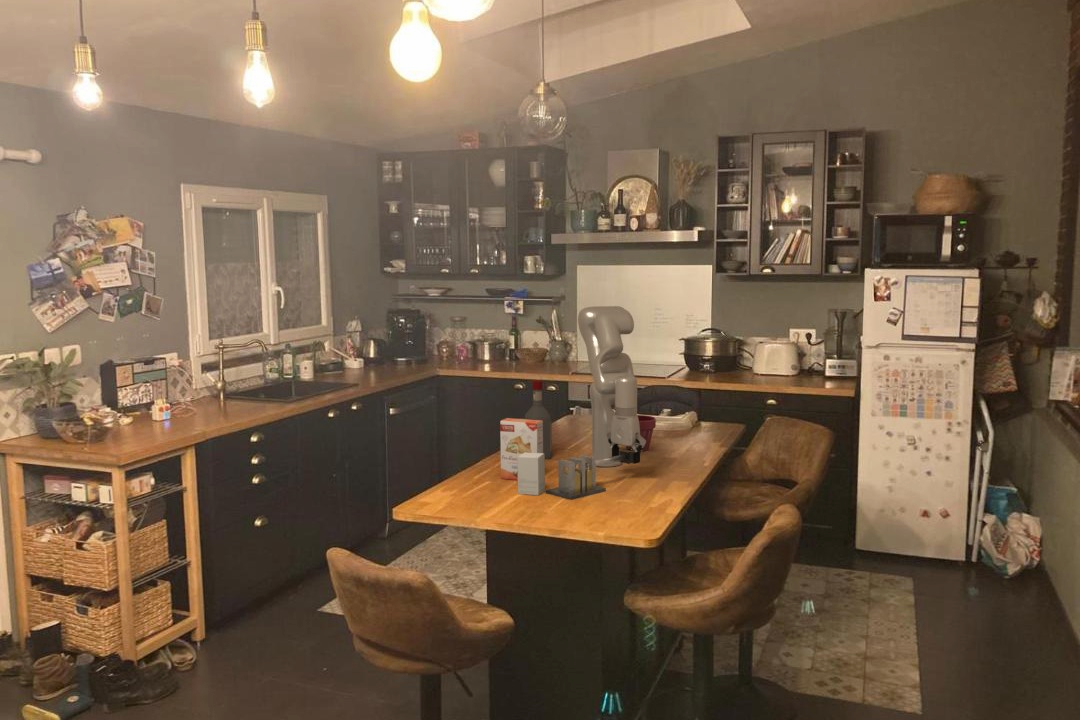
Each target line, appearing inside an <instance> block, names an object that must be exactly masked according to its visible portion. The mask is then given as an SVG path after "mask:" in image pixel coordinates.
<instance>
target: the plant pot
mask: <svg viewBox="0 0 1080 720" xmlns="http://www.w3.org/2000/svg"><path fill="white" fill-rule="evenodd" d="M637 416H638V419H639V426H640V436H642V437H643V438H644V439H645V440H646V443H645V445H644V448H643V449H642V450H645V451H648V450H650V445H651V443H652V437H653V432H654V429H656V426H657V425H656V424H657V423H656V421H657V420H656V417H654V416H652V415H644V414H637ZM639 445H640V443H639ZM625 448H626V449H627V448H628V449H632V450H633V448H632V446H625ZM636 448H637V447H636ZM628 449H627V450H628ZM647 449H648V450H647ZM632 450H631V451H632Z"/></svg>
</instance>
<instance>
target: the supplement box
mask: <svg viewBox="0 0 1080 720" xmlns="http://www.w3.org/2000/svg"><path fill="white" fill-rule="evenodd" d="M545 464H546V461H545V456H544V453H527V452H524V453H523V454H521V455H519V456H518V457H517V469H518V480H517V492H518V493H517V494H518V495H525V494H526V496H540V495H541V494H543V493H544V492H545V490H546V466H545Z"/></svg>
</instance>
